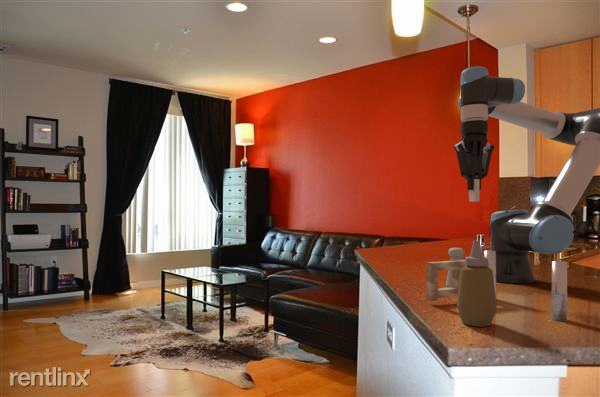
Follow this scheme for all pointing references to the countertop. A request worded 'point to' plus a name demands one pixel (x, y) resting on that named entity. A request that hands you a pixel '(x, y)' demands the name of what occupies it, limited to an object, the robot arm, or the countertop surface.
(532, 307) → the countertop surface
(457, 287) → the gate
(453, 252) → the salt shaker
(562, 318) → the gateposts
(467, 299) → the squeeze bottle
